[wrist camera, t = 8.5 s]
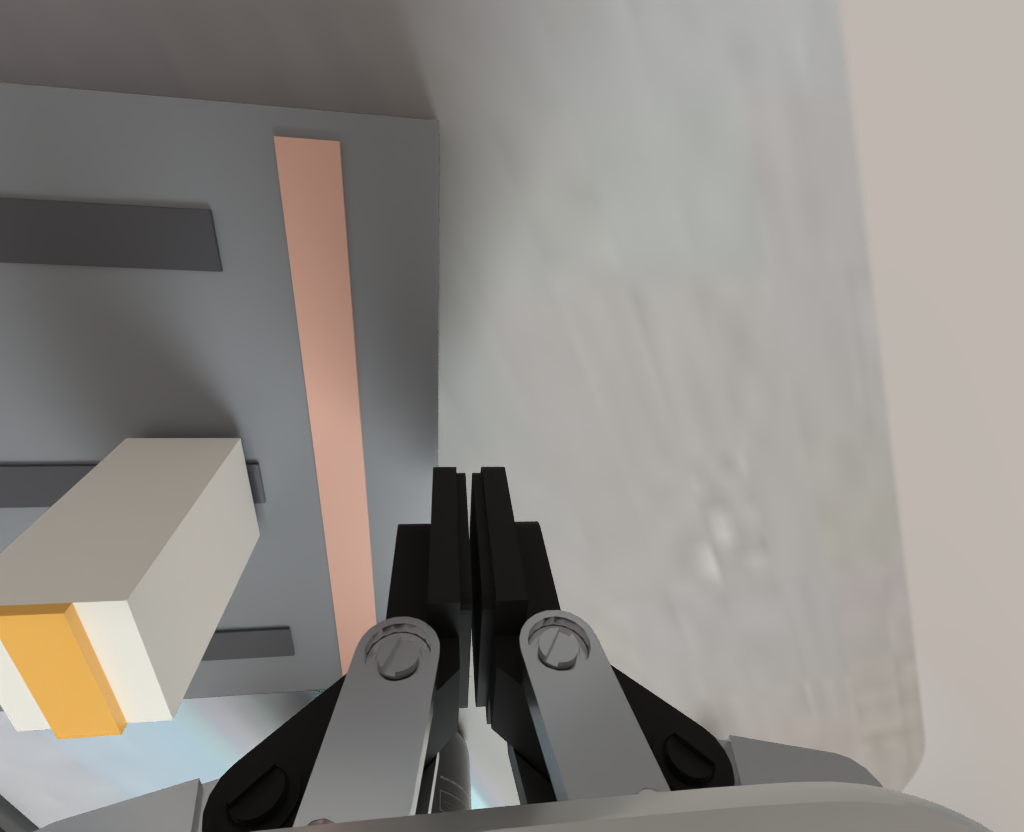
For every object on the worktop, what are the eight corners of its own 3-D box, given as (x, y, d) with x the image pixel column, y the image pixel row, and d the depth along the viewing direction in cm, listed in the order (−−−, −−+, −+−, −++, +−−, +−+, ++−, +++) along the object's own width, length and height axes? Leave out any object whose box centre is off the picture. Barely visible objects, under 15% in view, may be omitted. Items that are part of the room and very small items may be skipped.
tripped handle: (260, 535, 14) (167, 731, 9) (158, 537, 13) (8, 743, 9) (240, 438, 12) (119, 610, 8) (126, 438, 12) (-73, 618, 7)
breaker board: (437, 633, 19) (436, 684, 18) (-252, 671, 16) (-340, 737, 14) (438, 124, 12) (438, 120, 10) (-873, 12, 9) (-1235, -27, 7)
